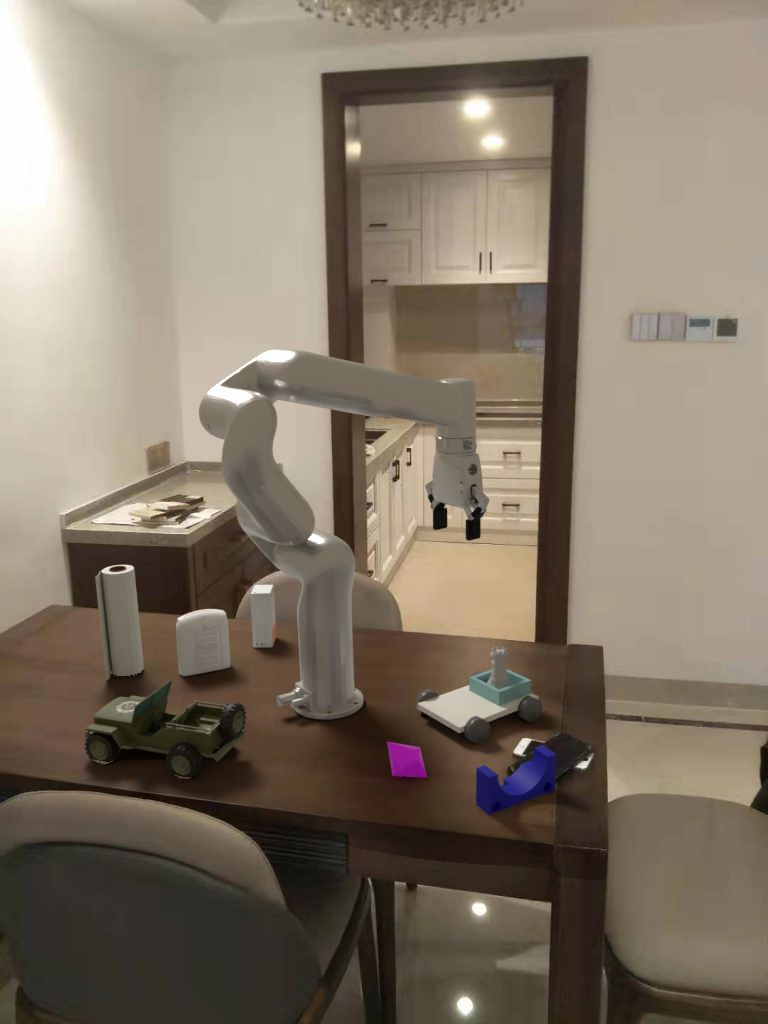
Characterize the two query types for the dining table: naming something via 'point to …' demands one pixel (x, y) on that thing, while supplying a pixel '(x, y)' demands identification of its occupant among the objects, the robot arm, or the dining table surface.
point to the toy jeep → (165, 730)
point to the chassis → (480, 704)
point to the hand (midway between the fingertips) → (456, 533)
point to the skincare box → (263, 616)
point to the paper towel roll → (119, 620)
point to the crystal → (406, 760)
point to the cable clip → (516, 782)
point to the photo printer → (202, 642)
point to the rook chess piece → (499, 668)
